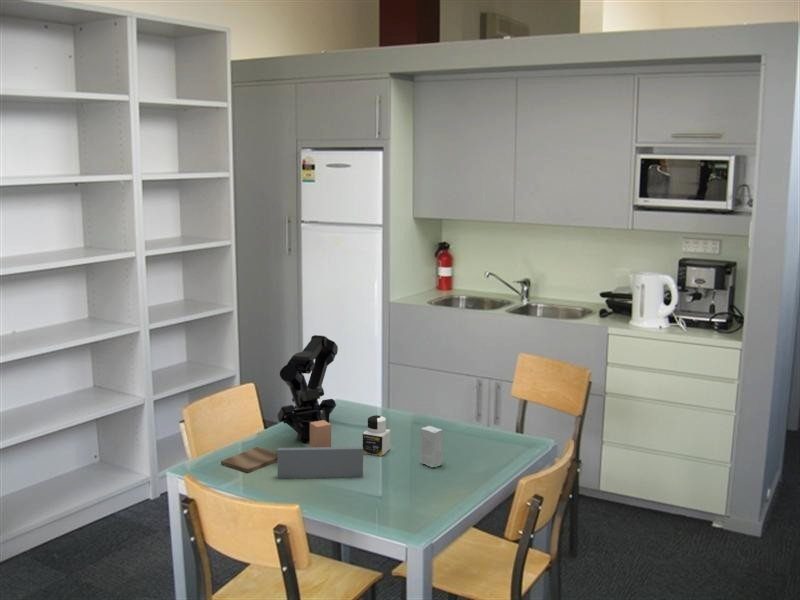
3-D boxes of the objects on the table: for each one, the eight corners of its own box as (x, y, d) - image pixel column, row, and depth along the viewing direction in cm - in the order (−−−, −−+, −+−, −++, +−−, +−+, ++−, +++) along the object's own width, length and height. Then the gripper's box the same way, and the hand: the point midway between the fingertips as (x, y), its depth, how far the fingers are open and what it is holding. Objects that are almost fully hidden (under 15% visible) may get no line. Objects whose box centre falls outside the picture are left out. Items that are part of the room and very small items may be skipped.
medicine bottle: (362, 453, 280) (362, 418, 278) (370, 446, 286) (371, 412, 284) (381, 456, 277) (382, 421, 275) (390, 449, 284) (390, 415, 282)
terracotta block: (323, 461, 272) (323, 420, 269) (331, 466, 268) (331, 424, 265) (309, 464, 269) (309, 422, 267) (316, 469, 265) (316, 426, 262)
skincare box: (442, 465, 270) (443, 429, 268) (433, 469, 267) (434, 432, 265) (428, 460, 274) (429, 425, 272) (419, 463, 271) (420, 428, 269)
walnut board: (257, 450, 281) (257, 447, 280) (283, 458, 274) (283, 454, 274) (221, 464, 268) (221, 460, 268) (248, 473, 261) (248, 469, 261)
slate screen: (278, 471, 263) (278, 443, 262) (361, 469, 266) (362, 442, 264) (277, 478, 257) (277, 450, 256) (362, 476, 260) (363, 448, 258)
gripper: (280, 382, 266) (296, 425, 258) (333, 374, 275) (349, 416, 268) (271, 399, 274) (285, 442, 266) (322, 392, 283) (337, 433, 276)
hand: (315, 433), depth 269 cm, fingers open, 9 cm apart
